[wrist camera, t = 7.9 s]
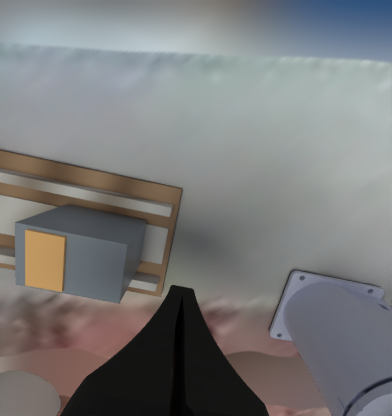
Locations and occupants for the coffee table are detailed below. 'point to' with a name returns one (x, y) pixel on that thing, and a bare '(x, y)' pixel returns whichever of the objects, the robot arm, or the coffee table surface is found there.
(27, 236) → the block
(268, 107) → the coffee table surface
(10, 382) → the cylinder with rectangular tab
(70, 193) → the din rail board
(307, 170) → the coffee table surface
